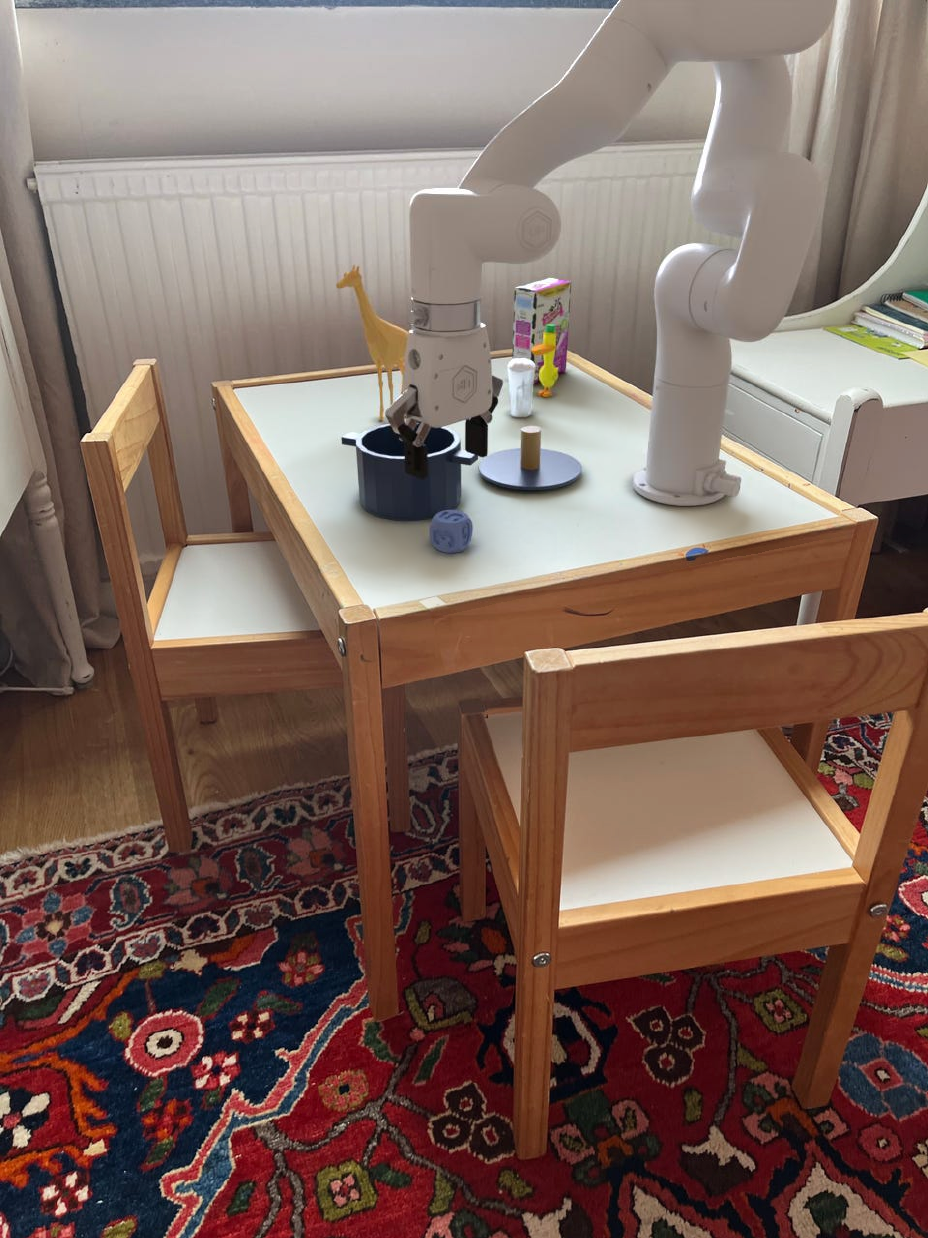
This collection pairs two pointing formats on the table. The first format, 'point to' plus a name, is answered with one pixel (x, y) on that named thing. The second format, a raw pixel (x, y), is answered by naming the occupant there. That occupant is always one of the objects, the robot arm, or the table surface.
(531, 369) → the milkshake
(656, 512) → the table surface
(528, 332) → the candy bar box
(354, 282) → the giraffe
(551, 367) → the toy figure
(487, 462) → the lid
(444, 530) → the decorative dice
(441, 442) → the blue cooking pot
